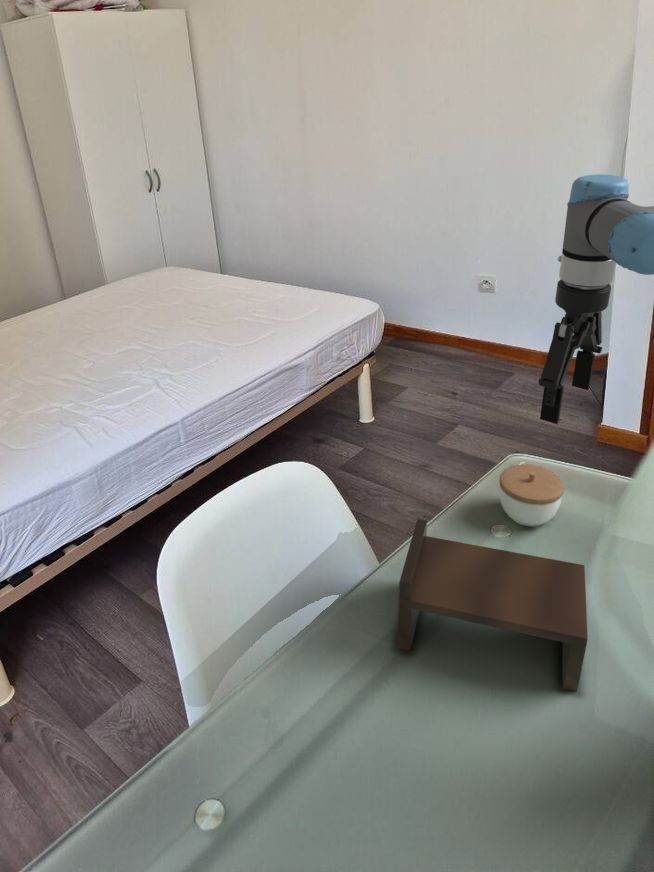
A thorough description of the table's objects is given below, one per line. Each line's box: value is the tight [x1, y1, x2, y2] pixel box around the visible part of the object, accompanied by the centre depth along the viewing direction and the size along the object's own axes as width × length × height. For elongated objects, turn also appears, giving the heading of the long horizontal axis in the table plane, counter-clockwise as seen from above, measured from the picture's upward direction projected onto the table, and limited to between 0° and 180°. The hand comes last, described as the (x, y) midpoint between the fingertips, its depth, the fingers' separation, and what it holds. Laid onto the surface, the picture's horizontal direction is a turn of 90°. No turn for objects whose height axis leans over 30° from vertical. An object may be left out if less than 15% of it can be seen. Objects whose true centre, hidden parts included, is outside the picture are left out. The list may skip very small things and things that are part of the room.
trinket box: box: [498, 463, 565, 527], centre depth 122 cm, size 11×11×9 cm
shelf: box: [396, 518, 589, 693], centre depth 98 cm, size 24×14×13 cm, turn 70°
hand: (565, 403), depth 113 cm, fingers open, 13 cm apart
